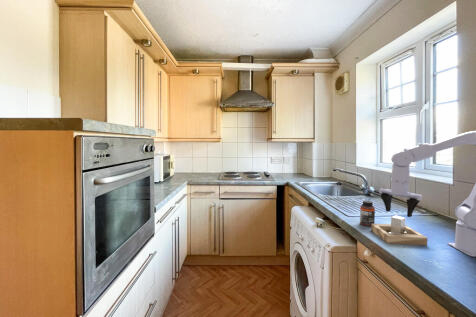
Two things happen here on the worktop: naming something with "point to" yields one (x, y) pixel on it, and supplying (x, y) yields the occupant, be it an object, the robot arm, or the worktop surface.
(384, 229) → the well block
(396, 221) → the stepped metal bar
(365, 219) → the supplement bottle
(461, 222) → the robot arm
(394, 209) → the worktop surface
